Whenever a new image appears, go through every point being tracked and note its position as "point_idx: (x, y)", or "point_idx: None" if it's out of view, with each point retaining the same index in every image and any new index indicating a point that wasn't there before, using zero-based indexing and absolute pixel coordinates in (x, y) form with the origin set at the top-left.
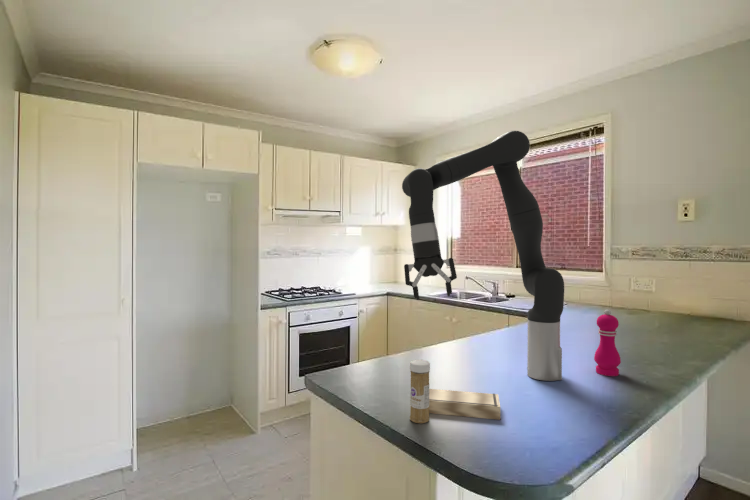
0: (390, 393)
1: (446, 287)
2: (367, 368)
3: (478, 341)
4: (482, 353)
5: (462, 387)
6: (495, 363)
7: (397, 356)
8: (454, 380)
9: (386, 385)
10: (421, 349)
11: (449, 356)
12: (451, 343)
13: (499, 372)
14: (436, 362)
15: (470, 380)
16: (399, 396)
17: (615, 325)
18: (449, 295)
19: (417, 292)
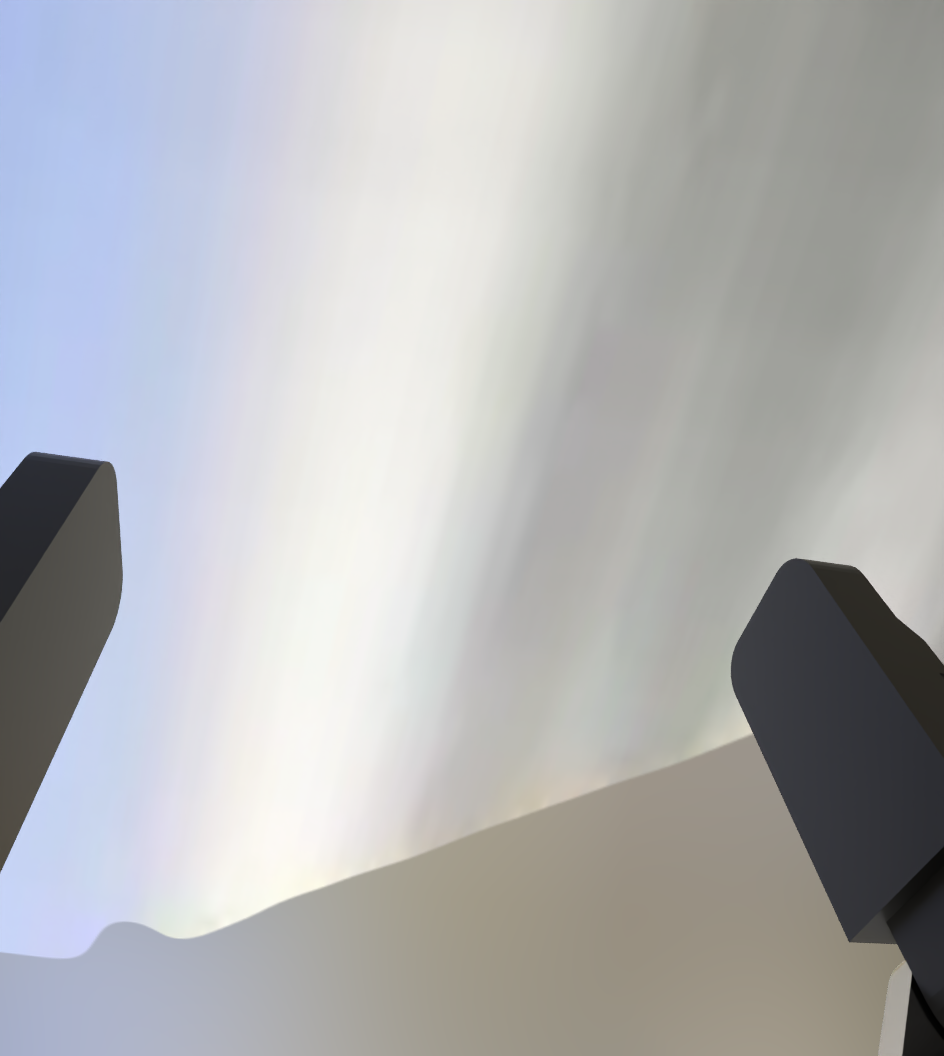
0: (835, 150)
1: (10, 598)
2: None
3: (82, 917)
4: (84, 761)
5: (304, 213)
6: None
7: (571, 778)
8: (329, 354)
9: (804, 315)
10: (408, 855)
11: (277, 742)
12: (228, 910)
13: (21, 460)
14: (372, 665)
15: (226, 341)
16: (793, 77)
17: None
18: (55, 456)
19: (902, 673)
